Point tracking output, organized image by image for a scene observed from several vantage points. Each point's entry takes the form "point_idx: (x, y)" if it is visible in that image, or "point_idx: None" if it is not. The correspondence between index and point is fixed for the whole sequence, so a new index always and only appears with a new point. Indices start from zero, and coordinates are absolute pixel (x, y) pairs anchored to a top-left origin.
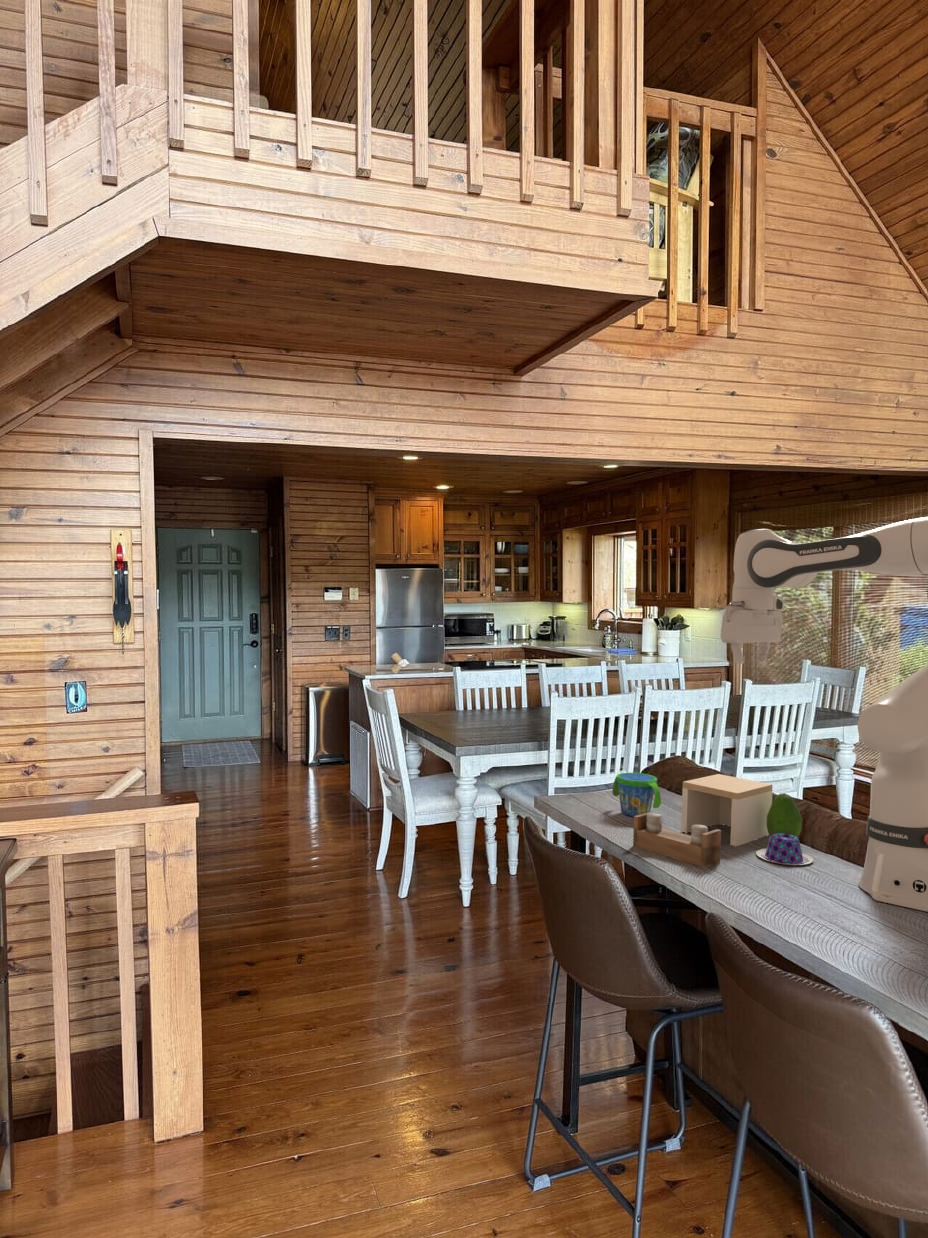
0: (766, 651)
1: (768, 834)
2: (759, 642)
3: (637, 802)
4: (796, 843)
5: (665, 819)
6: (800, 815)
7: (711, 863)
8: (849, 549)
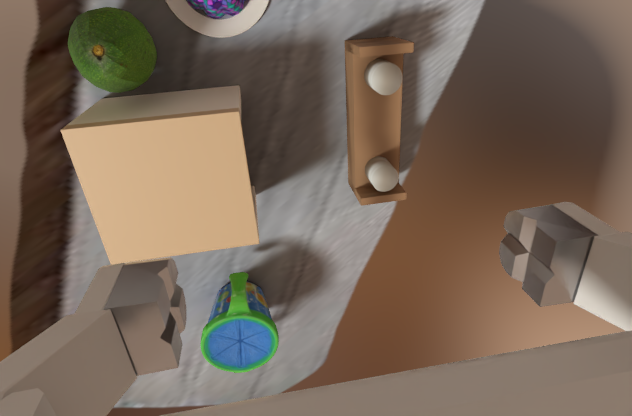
0: (70, 341)
1: (111, 98)
2: (357, 381)
3: (259, 297)
4: None
5: (216, 258)
6: (79, 19)
7: (373, 38)
8: None
